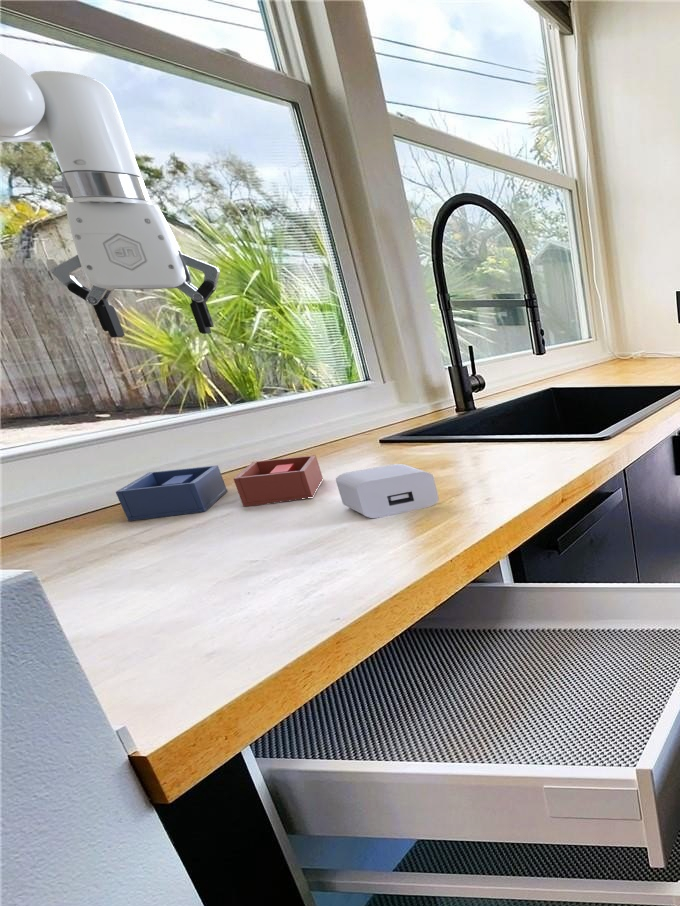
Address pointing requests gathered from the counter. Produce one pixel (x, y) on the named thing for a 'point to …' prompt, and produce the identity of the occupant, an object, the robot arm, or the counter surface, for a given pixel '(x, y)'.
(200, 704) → the counter surface
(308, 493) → the red bin
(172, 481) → the navy stepped block
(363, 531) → the counter surface
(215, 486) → the navy bin
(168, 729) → the counter surface
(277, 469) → the red stamp
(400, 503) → the charger
